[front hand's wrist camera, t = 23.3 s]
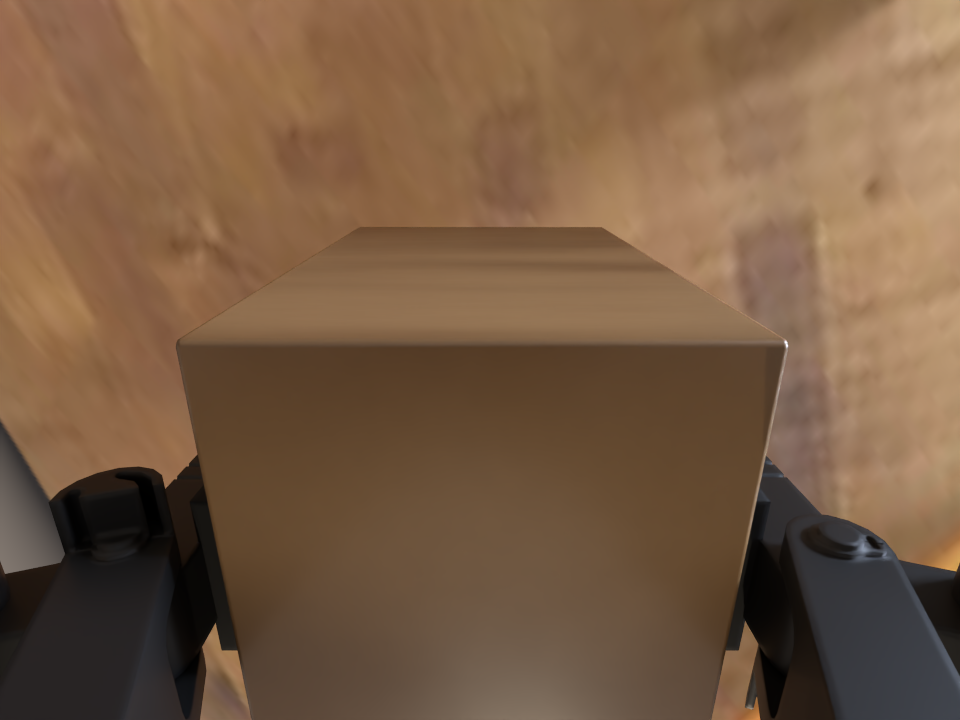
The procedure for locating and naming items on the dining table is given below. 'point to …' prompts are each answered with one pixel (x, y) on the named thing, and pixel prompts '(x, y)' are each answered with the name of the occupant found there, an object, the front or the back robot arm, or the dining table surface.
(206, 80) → the dining table surface
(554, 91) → the dining table surface
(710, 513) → the block
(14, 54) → the dining table surface
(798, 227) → the dining table surface
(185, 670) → the front robot arm
